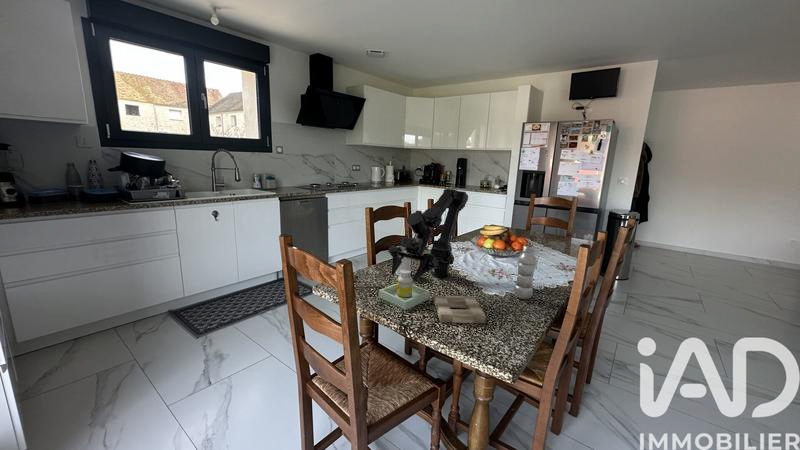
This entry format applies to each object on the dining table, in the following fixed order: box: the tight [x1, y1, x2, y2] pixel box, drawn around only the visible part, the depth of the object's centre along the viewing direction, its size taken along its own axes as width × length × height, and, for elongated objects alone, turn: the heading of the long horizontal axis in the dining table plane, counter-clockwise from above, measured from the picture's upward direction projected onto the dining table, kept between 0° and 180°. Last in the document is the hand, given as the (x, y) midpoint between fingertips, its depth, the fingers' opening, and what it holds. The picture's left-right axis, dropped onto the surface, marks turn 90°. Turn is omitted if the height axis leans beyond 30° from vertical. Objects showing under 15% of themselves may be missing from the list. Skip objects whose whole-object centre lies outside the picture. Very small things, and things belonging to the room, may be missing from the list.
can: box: [395, 246, 412, 277], centre depth 135 cm, size 6×6×12 cm
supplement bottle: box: [397, 269, 414, 299], centre depth 112 cm, size 5×5×10 cm
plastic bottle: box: [513, 244, 538, 300], centre depth 115 cm, size 6×7×20 cm
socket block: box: [433, 295, 486, 324], centre depth 104 cm, size 14×14×2 cm
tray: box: [378, 282, 431, 311], centre depth 113 cm, size 13×13×3 cm
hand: (402, 277), depth 110 cm, fingers open, 9 cm apart
